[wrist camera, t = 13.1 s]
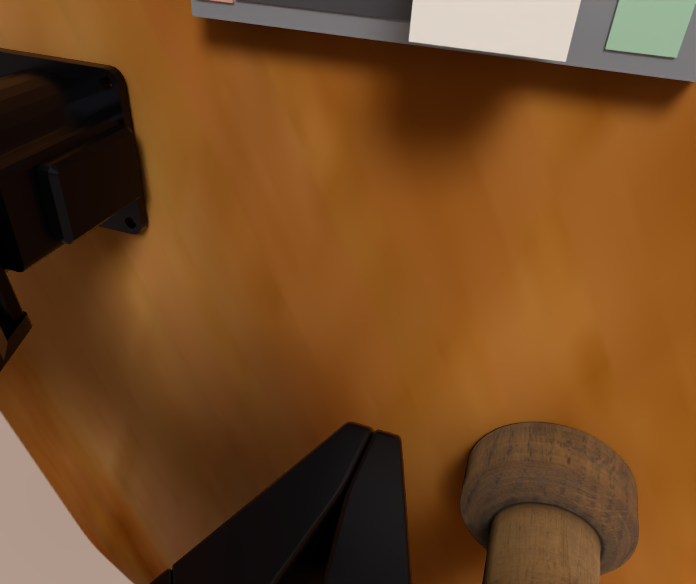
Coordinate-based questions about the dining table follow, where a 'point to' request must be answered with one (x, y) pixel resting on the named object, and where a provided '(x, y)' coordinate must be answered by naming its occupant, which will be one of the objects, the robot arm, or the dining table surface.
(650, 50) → the breaker panel
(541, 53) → the white block
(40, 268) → the dining table surface
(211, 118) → the dining table surface
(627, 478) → the brown statuette
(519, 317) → the dining table surface
